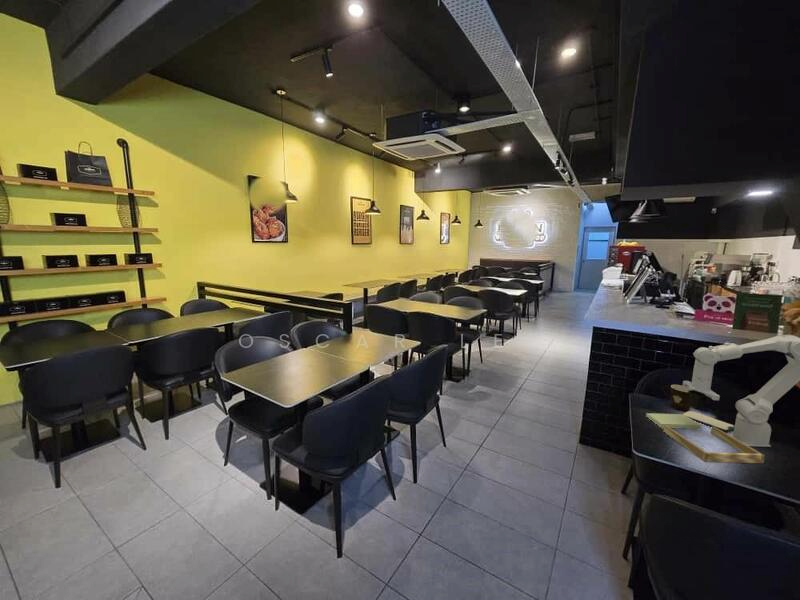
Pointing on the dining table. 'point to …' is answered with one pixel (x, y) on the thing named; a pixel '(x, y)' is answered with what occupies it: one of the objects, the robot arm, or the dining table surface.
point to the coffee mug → (679, 397)
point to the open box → (745, 457)
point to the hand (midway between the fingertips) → (697, 409)
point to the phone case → (709, 421)
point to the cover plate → (673, 421)
